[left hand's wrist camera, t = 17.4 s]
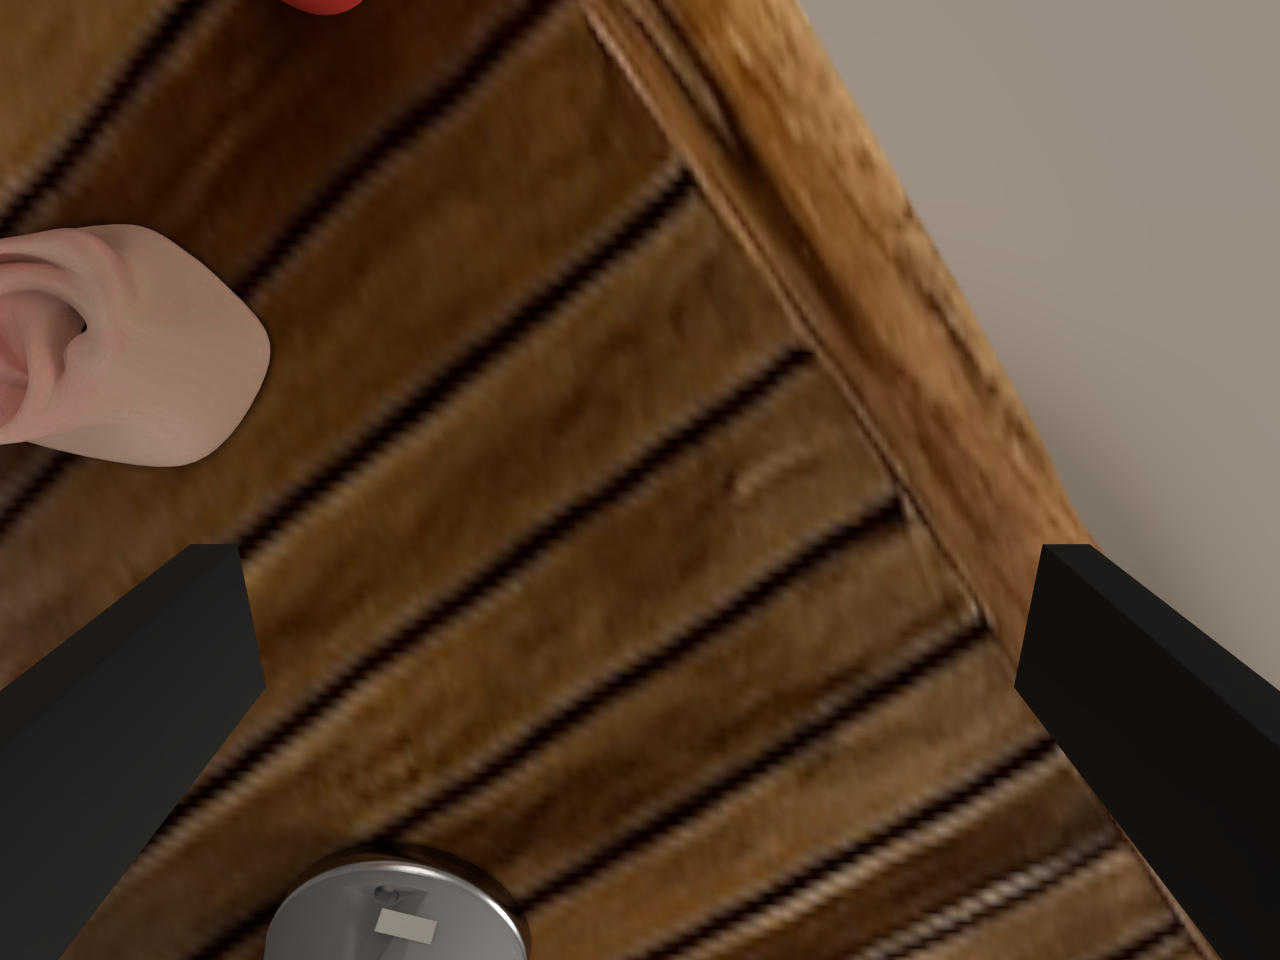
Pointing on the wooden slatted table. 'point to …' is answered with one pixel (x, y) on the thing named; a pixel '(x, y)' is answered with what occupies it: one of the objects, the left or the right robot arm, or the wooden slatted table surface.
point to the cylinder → (323, 6)
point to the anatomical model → (122, 347)
